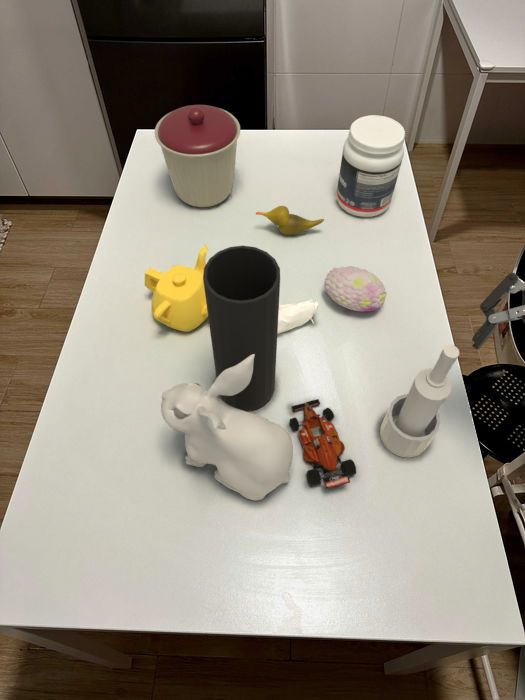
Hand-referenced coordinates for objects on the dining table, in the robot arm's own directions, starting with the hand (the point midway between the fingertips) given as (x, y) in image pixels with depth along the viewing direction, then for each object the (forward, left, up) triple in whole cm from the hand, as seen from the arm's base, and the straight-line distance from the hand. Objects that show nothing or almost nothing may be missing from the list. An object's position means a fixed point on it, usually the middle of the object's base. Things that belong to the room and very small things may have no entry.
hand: (502, 368), depth 66 cm
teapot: (+52, +15, -24) cm, 59 cm away
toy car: (+14, +16, -24) cm, 32 cm away
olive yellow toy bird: (+55, -15, -25) cm, 62 cm away
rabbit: (+22, +29, -24) cm, 44 cm away
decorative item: (+32, -11, -24) cm, 42 cm away
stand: (+6, +4, -24) cm, 25 cm away
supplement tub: (+51, -35, -24) cm, 66 cm away
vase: (+31, +18, -24) cm, 43 cm away
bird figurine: (+36, +3, -25) cm, 44 cm away
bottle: (+6, +4, -24) cm, 25 cm away
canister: (+78, -9, -24) cm, 82 cm away
